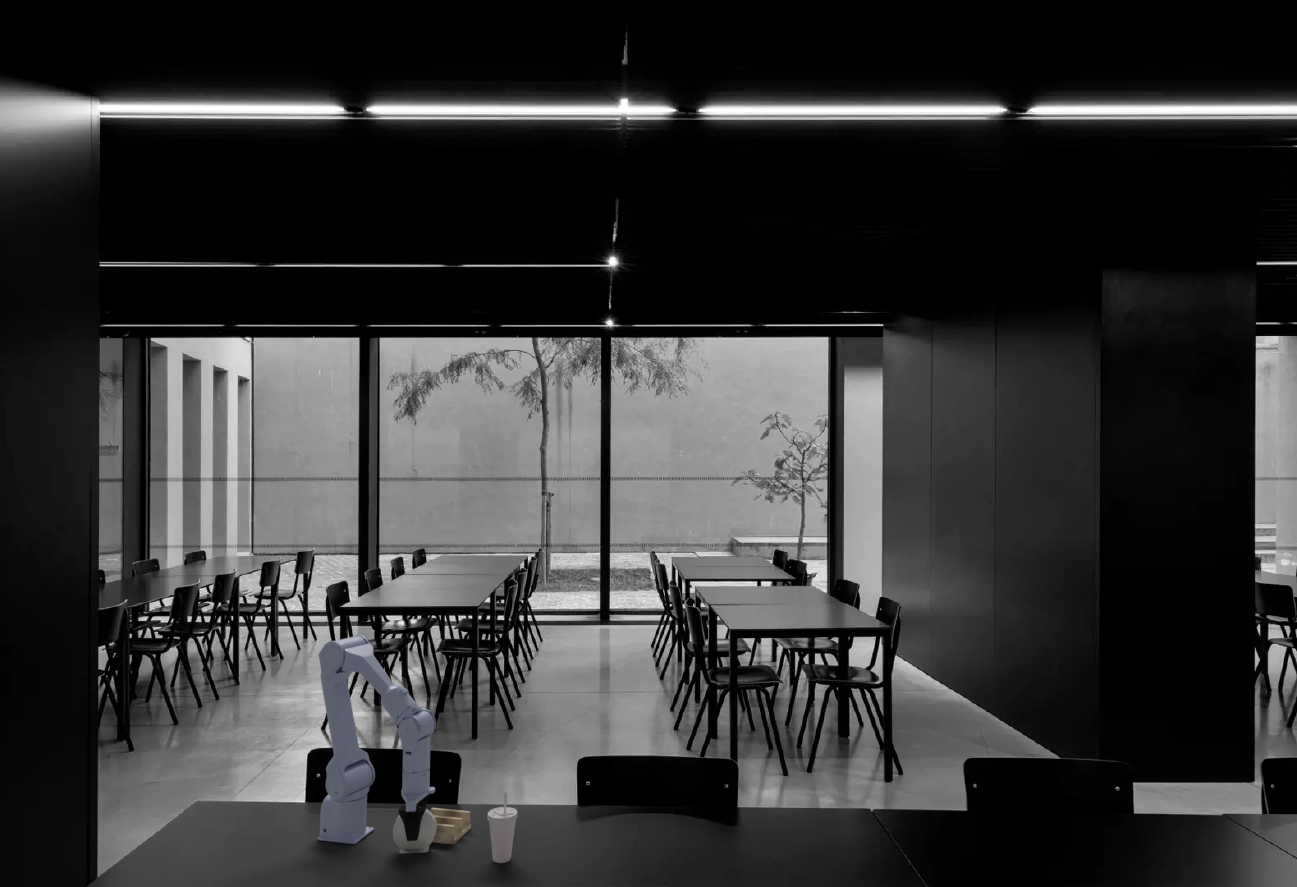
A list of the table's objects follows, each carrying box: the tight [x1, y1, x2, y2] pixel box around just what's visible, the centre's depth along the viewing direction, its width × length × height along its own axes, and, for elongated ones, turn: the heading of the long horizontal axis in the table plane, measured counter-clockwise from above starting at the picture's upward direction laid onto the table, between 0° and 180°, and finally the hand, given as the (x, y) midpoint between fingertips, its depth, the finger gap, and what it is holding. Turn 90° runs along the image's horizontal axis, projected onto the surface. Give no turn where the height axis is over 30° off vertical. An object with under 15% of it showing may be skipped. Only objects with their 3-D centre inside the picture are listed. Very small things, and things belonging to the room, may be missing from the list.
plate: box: [392, 808, 437, 854], centre depth 176 cm, size 9×2×9 cm, turn 98°
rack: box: [430, 807, 472, 845], centre depth 184 cm, size 10×9×4 cm
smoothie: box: [486, 791, 518, 864], centre depth 172 cm, size 6×6×14 cm
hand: (415, 832), depth 176 cm, fingers open, 7 cm apart
